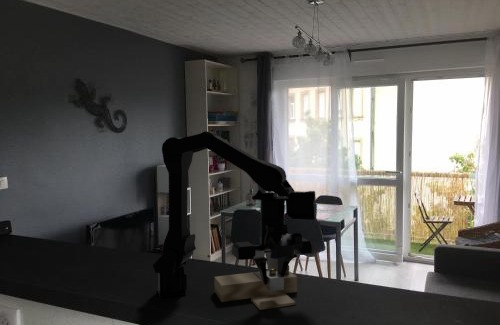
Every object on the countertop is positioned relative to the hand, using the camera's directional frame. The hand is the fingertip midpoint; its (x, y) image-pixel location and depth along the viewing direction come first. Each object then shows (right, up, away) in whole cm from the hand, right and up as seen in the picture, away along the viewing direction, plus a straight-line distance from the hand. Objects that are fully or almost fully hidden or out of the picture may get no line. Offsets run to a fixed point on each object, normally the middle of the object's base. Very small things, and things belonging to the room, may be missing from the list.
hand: (272, 283), depth 98 cm
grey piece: (0, -1, 0) cm, 1 cm away
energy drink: (+2, -4, +21) cm, 22 cm away
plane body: (-4, -4, +7) cm, 9 cm away
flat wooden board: (0, -5, 0) cm, 5 cm away
